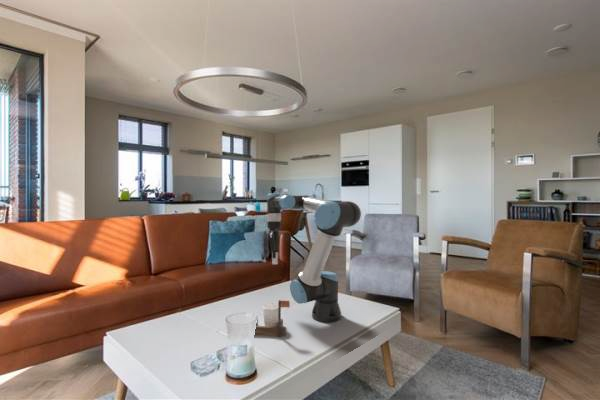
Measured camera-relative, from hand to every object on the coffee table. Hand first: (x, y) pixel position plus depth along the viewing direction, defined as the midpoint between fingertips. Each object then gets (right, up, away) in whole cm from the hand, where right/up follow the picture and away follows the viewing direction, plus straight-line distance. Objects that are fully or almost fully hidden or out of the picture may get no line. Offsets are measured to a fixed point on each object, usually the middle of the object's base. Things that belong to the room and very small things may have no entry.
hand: (274, 264), depth 177 cm
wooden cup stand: (-1, -25, -28) cm, 38 cm away
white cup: (0, -25, -25) cm, 35 cm away
